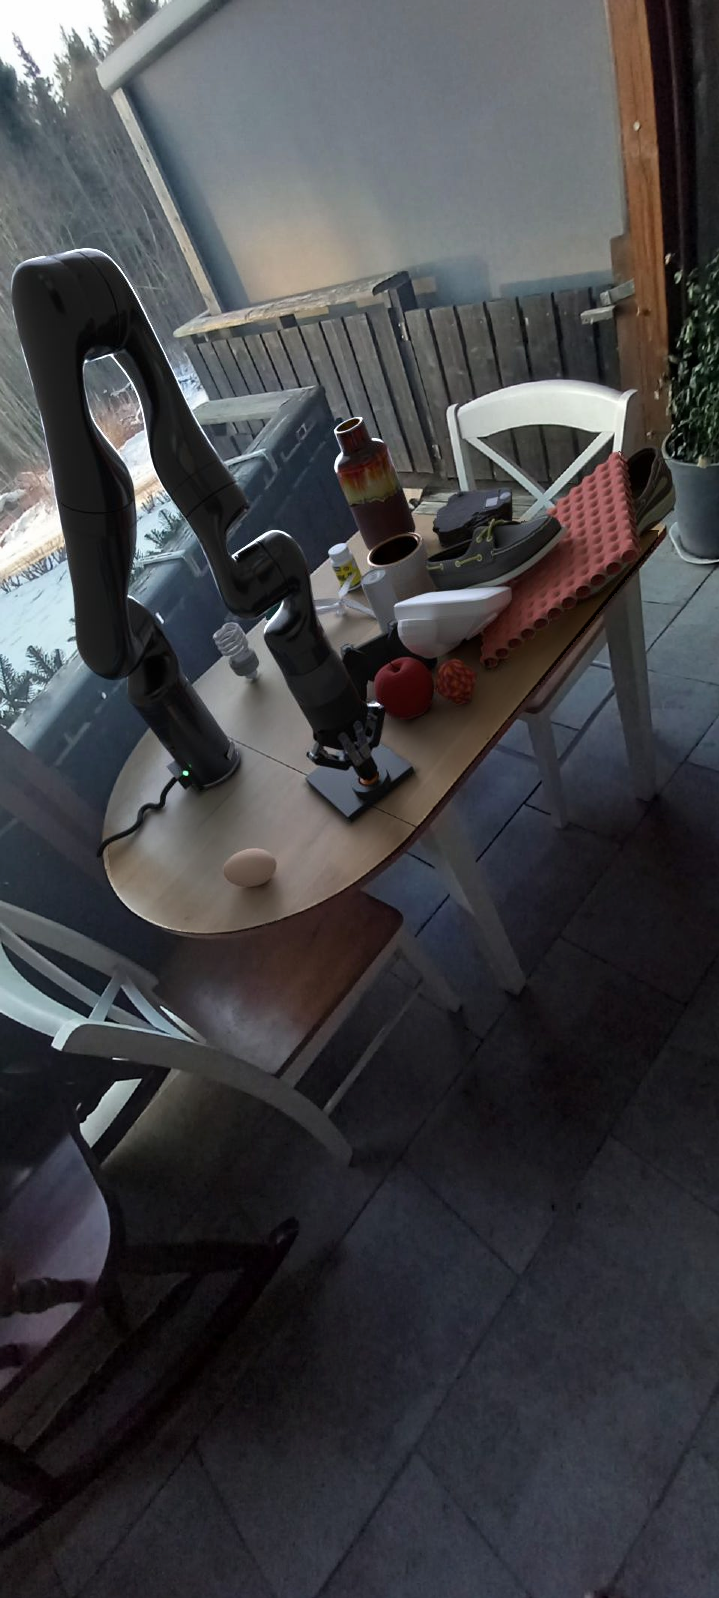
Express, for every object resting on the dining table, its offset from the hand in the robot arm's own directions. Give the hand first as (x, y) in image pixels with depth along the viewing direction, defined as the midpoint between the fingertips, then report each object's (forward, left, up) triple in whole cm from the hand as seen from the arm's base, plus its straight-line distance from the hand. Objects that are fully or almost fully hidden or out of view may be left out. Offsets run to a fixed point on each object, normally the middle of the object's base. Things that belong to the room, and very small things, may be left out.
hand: (369, 775), depth 106 cm
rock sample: (+56, +43, -3) cm, 71 cm away
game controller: (+17, +20, -3) cm, 26 cm away
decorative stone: (+20, +4, -3) cm, 20 cm away
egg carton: (+45, +7, +4) cm, 46 cm away
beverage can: (+25, +30, -3) cm, 39 cm away
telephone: (+29, +14, +7) cm, 33 cm away
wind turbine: (+9, +48, +3) cm, 49 cm away
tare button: (0, 0, -2) cm, 2 cm away
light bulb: (+2, +47, -3) cm, 47 cm away
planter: (+34, +37, -3) cm, 51 cm away
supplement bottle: (+31, +53, -3) cm, 61 cm away
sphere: (+15, +53, -3) cm, 55 cm away
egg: (-18, -2, 0) cm, 18 cm away
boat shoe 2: (+59, +10, -3) cm, 60 cm away
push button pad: (0, +5, -3) cm, 5 cm away
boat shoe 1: (+41, +15, +3) cm, 44 cm away
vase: (+43, +55, -3) cm, 70 cm away
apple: (+14, +10, -3) cm, 17 cm away
